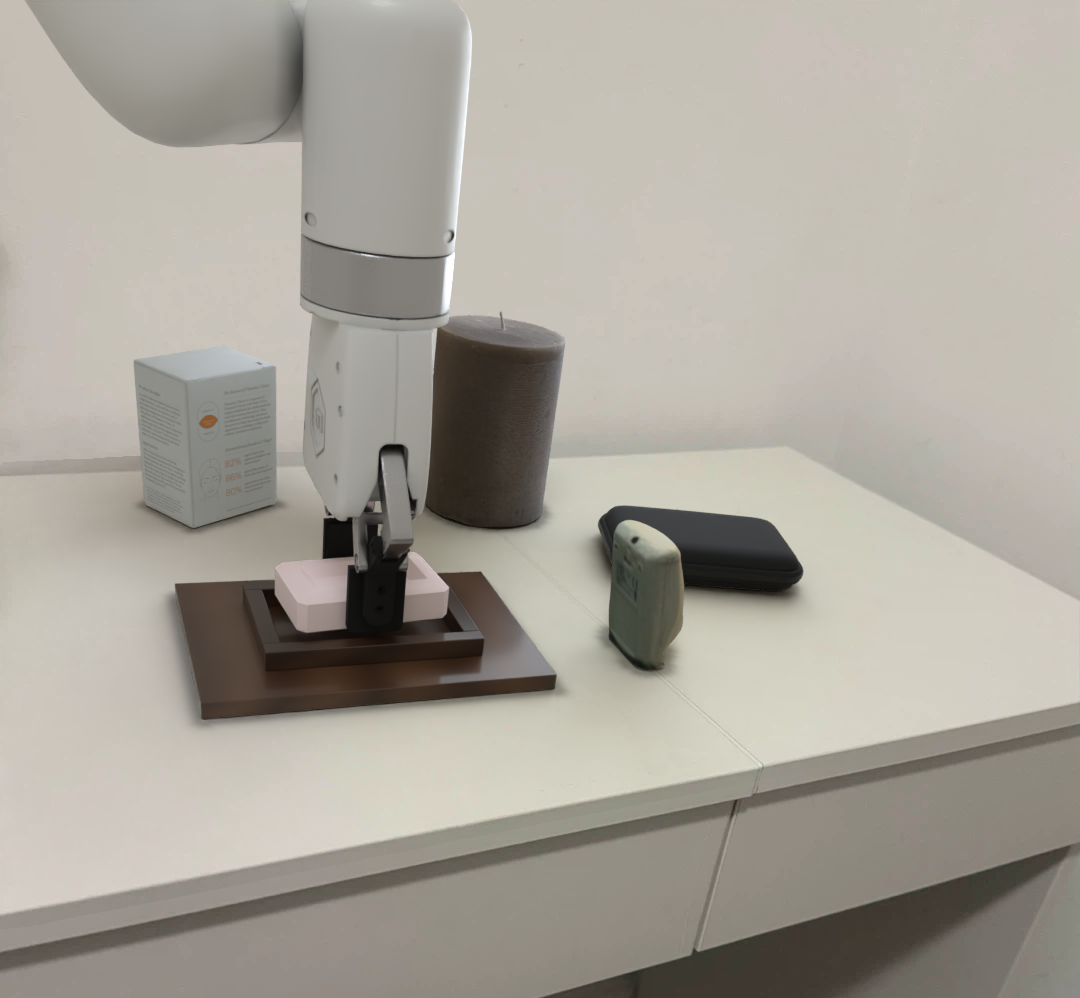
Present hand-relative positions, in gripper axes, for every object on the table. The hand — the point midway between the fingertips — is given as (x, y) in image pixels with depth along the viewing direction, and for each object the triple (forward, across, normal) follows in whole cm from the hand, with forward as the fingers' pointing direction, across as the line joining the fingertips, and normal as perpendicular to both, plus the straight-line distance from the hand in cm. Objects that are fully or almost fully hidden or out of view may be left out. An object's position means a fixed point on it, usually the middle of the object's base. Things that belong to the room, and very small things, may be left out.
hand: (360, 601), depth 63 cm
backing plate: (+3, 0, 0) cm, 3 cm away
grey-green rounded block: (+3, +3, +17) cm, 18 cm away
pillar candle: (+3, -21, +15) cm, 26 cm away
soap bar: (+1, 0, 0) cm, 1 cm away
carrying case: (+3, -9, +28) cm, 30 cm away
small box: (+3, -22, -6) cm, 23 cm away
